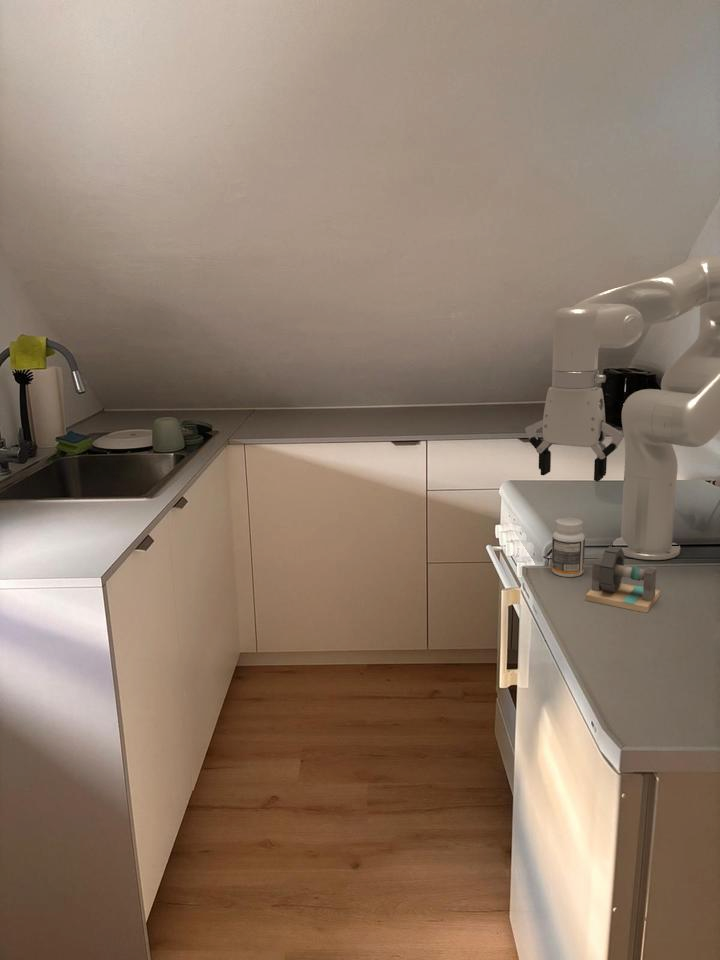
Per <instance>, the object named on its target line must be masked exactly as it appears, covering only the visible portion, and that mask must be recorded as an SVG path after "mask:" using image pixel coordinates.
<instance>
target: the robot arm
mask: <svg viewBox="0 0 720 960" xmlns="http://www.w3.org/2000/svg"><path fill="white" fill-rule="evenodd" d="M698 307H699V328H698V329H699V331H698V335H697V338H696V339H695V341H694V343H692V345H691V346H690V347H688V348H687V349H686V351H684V352H683V353H682V355H680V356H679V358H677V360H676V361H674V362H673V363H672V364H671V365H670V367H668V369H667V370H666V372H665V373H664V375H663V376H662V378H661V382H660V389H655V388H646V389H640V390H638V391H634V392H633V393H631V394H629V396H628V397H627V398H626V399H625V401H624V403H623V406H622V409H621V425H622V431H620V430H618V429H617V428H615V427H613V426H612V425H610V424H608V423H606V411H605V410H606V409H605V408H606V407H605V400H604V399H605V398H604V392H603V387H598V386H599V384H601V383H606V380H607V376H606V374H602V373H600V370H599V369H598V368H599V349H600V348H606V349H623V348H624V349H625V348H628V347H629V346H631V345H634V344H635V343H636V342H637V341H638V340H639V339H640V338H641V336H642V333H643V331H644V327H645V326H648V325H654V324H655V325H656V324H660V323H666V322H667V323H668V322H670V321H672V320H675V319H677V318H679V317H680V316H682V315H684V314H686V313H688V312H690V311H692V310H694V309H696V308H698ZM552 326H553V331H552V332H553V333H552V368H551V369H552V371H551V372H552V377H551V380H552V381H551V386H550V387H548V389H547V393H546V398H545V403H544V408H543V409H544V410H543V418H542V419H541V420H538V421H537V422H535V423H533V424H531V425H528V426H526V427H525V429H524V431H525V433H526V436H527V437H528V440H529V443H530V444H531V445H532V446H533V448H534V449H535V451H536V452H537V454H538V470H540V476H545V475H547V474H549V473H551V467H552V464H551V461H552V452H551V450H549V448H551V446H552V445H556V446H557V445H558V446H565V447H566V446H567V447H578V448H591V450H592V451H593V452H594V453H595V455H596V458H595V459H594V464H593V465H594V467H593V469H594V471H593V481H595V482H600V481H601V480H602V479H604V477H605V476H607V475H606V474H607V461H608V456H609V455H611V454H612V453H613V452H614V451H615V450H617V449H618V448H619V447H618V446H619V445H620V443H621V442H622V440H623V438H624V471H623V490H622V507H621V508H622V509H621V528H620V536H621V537H622V538H623V540H624V541H625V542H626V544H627V546H628V548H629V549H625V550H624V549H623V553H624V557H628V558H633V559H638V560H645V561H663V560H669V559H670V560H671V559H674V558H675V557H678V556H679V555H680V553H681V546H680V545H679V546H672V541H673V536H674V535H673V534H674V525H675V524H674V521H675V508H676V495H677V494H676V493H677V481H678V469H679V468H678V458H677V455H676V451H675V448H674V446H673V445H675V446H679V447H680V446H681V447H686V448H697V447H702V446H704V445H706V444H708V443H709V442H710V441H711V440H713V439H714V438H715V437H716V436H717V434H718V433H719V432H720V254H709V255H701V256H697V257H693V258H691V259H689V260H687V261H685V262H683V263H681V264H679V265H676V266H674V267H672V268H669V269H668V270H666V271H664V272H662V273H659V274H657V275H655V276H653V277H649V278H645V279H641V280H638V281H635V282H632V283H629V284H625V285H623V286H619V287H616V288H615V287H614V288H611V289H609V290H605V291H603V292H599V293H597V294H594V295H592V296H590V297H588V298H586V299H583V300H581V301H579V302H578V303H576V304H574V305H573V306H572V307H570V306H569V307H562V308H559V309H557V310H556V311H555V313H554V315H553V325H552ZM541 428H542V430H541V431H542V432H541V433H542V439H540V437H539V436H538V435H537V430H540V429H541ZM606 435H608V436H609V437H611V441H610V443H609V444H608V445H607V446H606V445H605V443H604V441H605V440H606V439H605V438H606Z"/></svg>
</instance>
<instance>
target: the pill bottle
mask: <svg viewBox="0 0 720 960" xmlns="http://www.w3.org/2000/svg"><path fill="white" fill-rule="evenodd" d="M583 524H584V522H583V520H582V519H580V518H576V517H570V516H569V517H560V518H557V519H556V520H555V528H556V530H555V531H554V532H553V534H552V538H551V539H552V542H551V571H552V573H553V574H555V575H556V576H560V577H563V578H565V577H566V578H575V577H579V576H581V575H582V574H583V573H584V571H585V569H584V568H585V550H586V549H585V548H586V536H585V534H584V532H582V530H583V527H584V525H583Z"/></svg>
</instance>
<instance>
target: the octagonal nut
mask: <svg viewBox="0 0 720 960" xmlns="http://www.w3.org/2000/svg"><path fill="white" fill-rule="evenodd" d="M601 559H602V561H601V564H600V566H601V567H600V576H599V582H600V583H599V584H600V586H601V588H602V590H605V591H610V592H615V591H616V590H617V589H618V588H619V586H620V583H622V580H623V579H622V578H623V577H622V576H617V575H614V567H615V564H616V565H622V566H625V556H624V553H623V550H622V548H617V547H612V545H611V546H608V547H607V548H606V549H605V550H604V552H603V554H602V557H601Z"/></svg>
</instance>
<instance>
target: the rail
mask: <svg viewBox="0 0 720 960" xmlns="http://www.w3.org/2000/svg"><path fill="white" fill-rule="evenodd" d="M601 561H602V557H601V558H600V557H598V558H597V559H596V560H595V561H593V563H592V571H591V572H592V575H591V578H592V579H591V589H590V590H589V591H588V592H587V593H586V594H585V597H584V598H585V600H584V601H586V602H587V601H588V602H592V603H597V604H602V605H606V606H611V607H616V608H620V609H625V610H631V611H636V612H641V613H646V614H648V612H649V611H650V609H651V608H652V607H653V605H654V604H655V603H656V602H657V600H658V599H659V597H660V596H661V595H660V594H661V590H660V589H659V590H658V589H656V588H657V587H656V585H657V569H658V567H654V566H648V567H647V568H646V569H645V568H643V567H641V566H640V567H639V566H634V565H633V566H628V565H624V566H622V565H616V564H615V567H614V575H617V576H622V578H628V579H630V580H634V581H637V582H639V581H643V586H641V585H632V584H627V583H622V582H621V583H620V586H619V588H618V589H617V590H616V591H615V592H610V591H605V590H602V588H601V586H600V584H599V583H600V582H599V576H600V567H601V566H600V564H601Z"/></svg>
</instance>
